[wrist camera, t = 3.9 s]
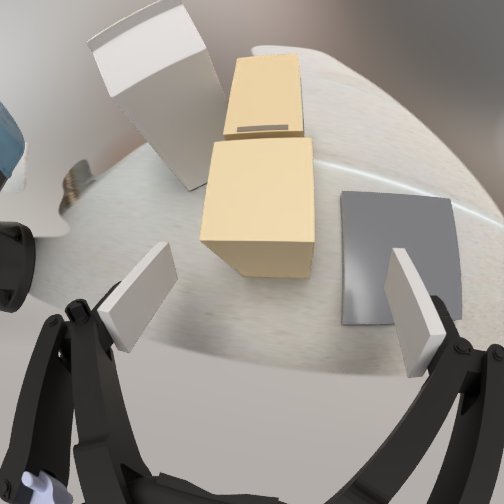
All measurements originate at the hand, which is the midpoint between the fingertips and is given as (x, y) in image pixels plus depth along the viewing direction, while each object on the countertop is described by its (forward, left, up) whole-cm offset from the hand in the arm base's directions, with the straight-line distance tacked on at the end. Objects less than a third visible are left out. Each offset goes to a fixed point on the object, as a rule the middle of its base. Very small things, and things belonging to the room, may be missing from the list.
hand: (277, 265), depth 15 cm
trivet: (+11, +3, -9) cm, 14 cm away
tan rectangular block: (-1, +4, -9) cm, 10 cm away
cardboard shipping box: (-1, +12, -9) cm, 15 cm away
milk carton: (-9, +14, -9) cm, 19 cm away
